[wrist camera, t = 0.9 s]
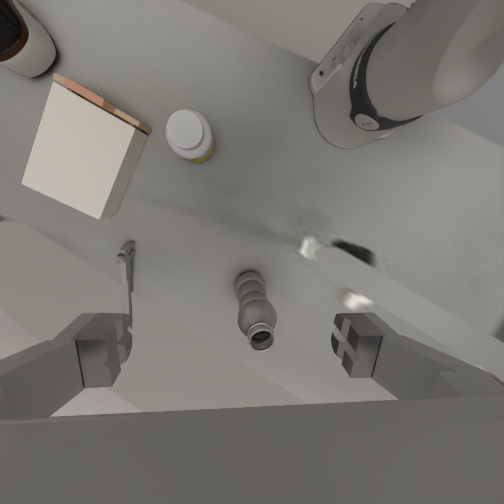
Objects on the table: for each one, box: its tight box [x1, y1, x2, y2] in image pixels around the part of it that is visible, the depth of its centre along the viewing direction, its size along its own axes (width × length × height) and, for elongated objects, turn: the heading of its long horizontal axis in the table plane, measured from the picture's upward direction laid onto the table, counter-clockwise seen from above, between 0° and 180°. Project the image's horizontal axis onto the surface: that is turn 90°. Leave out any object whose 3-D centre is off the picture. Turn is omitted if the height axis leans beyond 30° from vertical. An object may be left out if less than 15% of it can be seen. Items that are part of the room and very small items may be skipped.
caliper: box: [117, 241, 135, 329], centre depth 47 cm, size 20×1×6 cm, turn 170°
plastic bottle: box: [234, 272, 277, 352], centre depth 42 cm, size 6×7×20 cm
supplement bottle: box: [166, 109, 214, 163], centre depth 37 cm, size 7×7×13 cm
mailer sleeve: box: [22, 82, 148, 220], centre depth 39 cm, size 16×12×6 cm
